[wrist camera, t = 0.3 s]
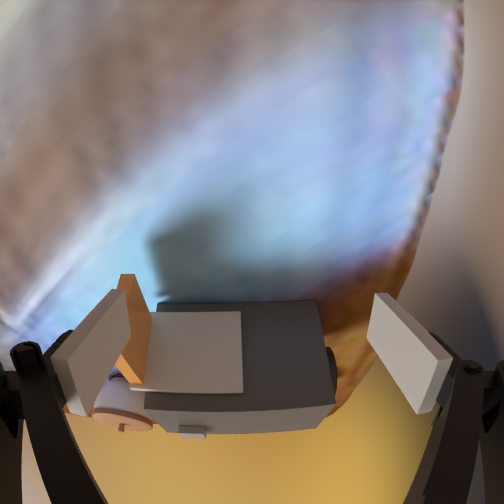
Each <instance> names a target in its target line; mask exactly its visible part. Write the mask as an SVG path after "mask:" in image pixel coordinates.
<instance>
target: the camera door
mask: <svg viewBox="0 0 504 504" xmlns="http://www.w3.org/2000/svg"><path fill="white" fill-rule="evenodd" d="M117 289H120V290H125V293H126V301H127V309H128V316H129V323H130V330H131V337H130V339H129V341H128V343H127V344H126V346H125V348H124V349H123V351H122V353H121V355H120V356H119V358H118V360H117V362H116V363H115V365H116V367H117V368H118V369H119V371H120V372H121V373H122V374H123V376H124V377H125V378H126V379H127V380H128V382H129V383H130V389H131V390H137V391H151V392H169V393H209V394H217V393H243V368H242V340H241V311H230V312H149V310H148V307H147V305H146V302H145V300H144V297H143V295H142V292H141V290H140V287H139V285H138V282H137V279H136V277H135V274H121V276H120V279H119V283H118V286H117Z"/></svg>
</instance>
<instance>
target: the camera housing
mask: <svg viewBox="0 0 504 504" xmlns="http://www.w3.org/2000/svg"><path fill="white" fill-rule="evenodd" d="M230 311H241V340H242V368H243V393H217V394H209V393H169V392H151V391H145V399H144V410H145V411H146V412H147V413H148V414H149V415H150V416H151V417H152V418H153V419H154V420H155V421H156V422H157V423H158V424H159V425H160V426H161V427H162V428H163V429H164V430H165V431H166V432H173V433H179V434H180V435H181V436H182V437H183V438H201V439H202V438H203V439H205V438H206V434H247V433H269V432H283V431H294V430H304V429H313V428H317V426H318V425H319V424H320V423H321V422H322V420H323V419H324V418H325V417H326V416H327V414H328V413H329V412H330V411H331V409H332V408H333V407H334V406H335V404H336V402H335V394H336V389H337V367H336V361H335V357H334V354H333V351H332V350H331V348H330V347H325V342H324V337H323V332H322V327H321V322H320V317H319V313H318V308H317V303H316V299H315V300H296V301H274V302H245V303H198V304H157V310H156V312H230Z"/></svg>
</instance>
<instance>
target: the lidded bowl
mask: <svg viewBox="0 0 504 504" xmlns="http://www.w3.org/2000/svg"><path fill="white" fill-rule="evenodd" d="M144 399H145V391H137V390H131V389H130V383H129V382H128V380H127V379H126V378H123V377H114V378H112V379H111V381H108V382H107V383H105V384H104V385H103V387H102V389H101V391H100V392H99V394H98V396H97V398H96V400H95V403H94V409H93V411H92V417H93V418H94V419H96V420H97V421H99V422H101V423H103V424H106V425H109V426H112V427H115V428H118V432H121V433H124V430H131V431H148V430H151V429H152V428H153V422H152V419H153V418H152V417H151V416H150V415H149V414H148V413H147V412H146V411H145V410H144Z"/></svg>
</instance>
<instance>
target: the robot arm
mask: <svg viewBox="0 0 504 504" xmlns="http://www.w3.org/2000/svg"><path fill="white" fill-rule="evenodd" d="M130 337H131V330H130V323H129V316H128V309H127V301H126V293H125V290H120V289H112V290H111V291H110V292H109V293H108V294H107V295H106V296H105V297H104V298H103V299H102V300H101V301H100V302H99V303H98V304H97V306H96V307H95V308H94V309H93V310H92V311H91V312H90V313H89V314H88V315H87V316H86V317H85V319H84V320H83V321H82V322H81V323H80V324H79V325H78V326H77V327H76V329H75V330H68V331H67V332H65V333H63V334H61V335H60V336H59V338H58V339H57V340H56V342H54V343H53V344H52V345H51V347H49V349H48V350H47V351H46V352H45V353H44V354H43V355H42V352H41V348H40V346H39V344H38V343H35V342H31V341H28V342H22V343H19V344H17V345H16V346H14V347H13V348H12V349H11V351H10V356H11V359H12V361H13V364H14V367H15V369H16V371H4V369H3V366H2V364H1V362H0V504H22V481H21V458H22V457H21V456H22V435H23V422H24V419H25V421H26V425H27V429H28V433H29V437H30V441H31V444H32V448H33V451H34V455H35V458H36V461H37V465H38V467H39V471H40V473H41V476H42V479H43V482H44V485H45V487H46V490H47V493H48V496H49V498H50V501H51V503H52V504H108V502H107V500H106V499H105V497H104V495H103V494H102V492H101V490H100V488H99V486H98V485H97V483H96V481H95V480H94V477H93V475H92V473H91V471H90V469H89V467H88V465H87V464H86V461H85V459H84V457H83V455H82V453H81V451H80V449H79V447H78V445H77V443H76V440H75V438H74V436H73V433H72V431H71V428H70V426H69V424H68V421H67V419H66V416H65V414H64V411H63V407H64V405H65V404H66V403H67V405H68V408H69V410H70V413H73V414H77V415H82V416H86V417H87V415H88V413H89V411H90V409H91V407H92V405H93V404H94V402H95V400H96V398H97V396H98V394H99V392H100V391H101V389H102V387H103V385H104V383H105V381H106V380H107V378H108V376H109V374H110V372H111V371H112V369H113V367H114V365H115V363H116V362H117V360H118V358H119V356H120V355H121V353H122V351H123V349H124V348H125V346H126V344H127V343H128V341H129V339H130ZM366 338H367V339H368V341H369V342H370V344H371V345H372V347H373V348H374V350H375V351H376V353H377V354H378V356H379V357H380V359H381V360H382V362H383V363H384V365H385V366H386V368H387V369H388V371H389V372H390V374H391V375H392V377H393V378H394V380H395V381H396V383H397V385H398V386H399V388H400V389H401V391H402V392H403V394H404V395H405V397H406V398H407V400H408V402H409V403H410V405H411V406H412V408H413V409H414V411H415V413H416V414H422V413H426V412H430V411H432V408H433V406H434V404H435V402H436V400H437V402H438V403H439V405H440V408H439V410H438V412H437V414H436V416H435V418H434V420H433V422H432V424H431V425H433V428H432V431H431V434H430V437H429V440H428V443H427V446H426V449H425V452H424V454H423V457H422V460H421V463H420V465H419V468H418V470H417V473H416V475H415V478H414V480H413V483H412V485H411V487H410V489H409V492H408V494H407V496H406V498H405V500H404V503H403V504H466V501H467V497H468V493H469V489H470V485H471V480H472V476H473V471H474V466H475V461H476V455H477V449H478V442H479V439H480V446H481V454H482V463H483V472H484V484H485V502H486V503H485V504H504V360H503V361H500V362H498V364H497V366H496V368H495V371H487V370H484V368H483V367H482V366H481V365H480V364H479V363H477V362H475V361H472V360H461V359H460V358H459V357H458V355H457V354H456V353H454V351H453V350H452V349H451V348H449V347H448V345H446V343H444V342H443V340H442V339H440V338H439V337H438V336H437V335H435V334H433V333H431V332H427V331H426V330H425V329H424V328H423V327H422V326H421V325H420V324H419V323H418V322H417V321H416V320H415V319H414V318H413V317H412V316H411V315H410V314H409V313H408V312H407V311H406V310H405V309H404V308H403V307H402V306H401V305H400V304H398V303H397V302H396V301H395V300H394V299H393V298H392V297H391V296H390V295H389V294H388V293H375V296H374V302H373V307H372V313H371V318H370V323H369V328H368V333H367V337H366Z"/></svg>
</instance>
